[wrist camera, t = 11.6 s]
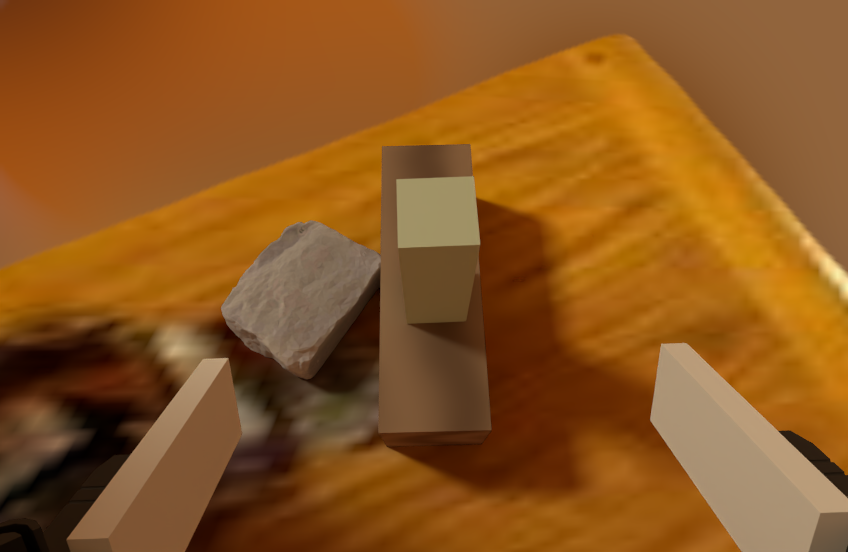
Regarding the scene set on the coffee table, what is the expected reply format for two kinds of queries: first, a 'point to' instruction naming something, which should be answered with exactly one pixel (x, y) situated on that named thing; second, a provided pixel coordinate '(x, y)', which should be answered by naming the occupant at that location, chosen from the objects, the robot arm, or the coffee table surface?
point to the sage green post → (437, 247)
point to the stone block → (302, 296)
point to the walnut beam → (427, 330)
